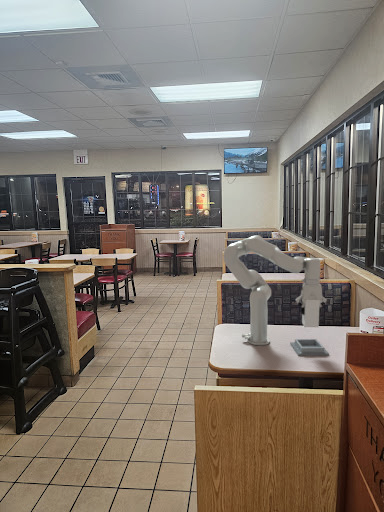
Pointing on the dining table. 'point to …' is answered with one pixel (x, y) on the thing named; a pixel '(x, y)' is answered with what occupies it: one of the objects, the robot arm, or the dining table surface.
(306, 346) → the carton tray
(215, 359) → the dining table surface
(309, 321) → the milk carton
